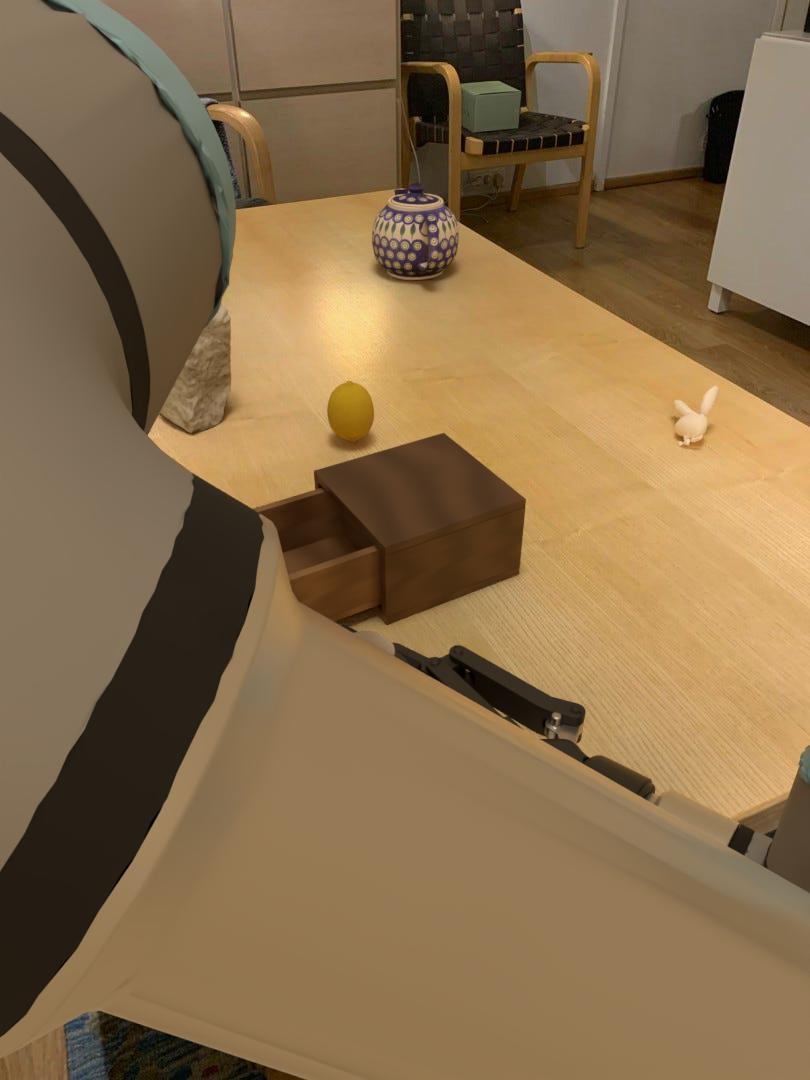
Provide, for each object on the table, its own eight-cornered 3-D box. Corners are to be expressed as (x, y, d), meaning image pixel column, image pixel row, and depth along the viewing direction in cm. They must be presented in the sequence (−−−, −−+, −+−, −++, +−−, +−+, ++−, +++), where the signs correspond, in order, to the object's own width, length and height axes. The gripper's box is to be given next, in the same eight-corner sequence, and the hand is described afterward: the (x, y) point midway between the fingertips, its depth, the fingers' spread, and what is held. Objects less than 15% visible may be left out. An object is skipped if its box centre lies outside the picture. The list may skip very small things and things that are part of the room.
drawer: (255, 661, 74) (246, 599, 70) (203, 578, 83) (192, 518, 79) (406, 604, 80) (405, 544, 76) (342, 532, 89) (338, 475, 85)
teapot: (473, 293, 146) (477, 201, 137) (385, 299, 143) (383, 206, 135) (441, 246, 165) (442, 163, 157) (362, 251, 163) (360, 167, 154)
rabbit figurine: (658, 444, 105) (667, 391, 109) (675, 461, 108) (683, 409, 111) (704, 433, 101) (712, 378, 105) (720, 451, 103) (728, 397, 107)
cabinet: (386, 625, 79) (384, 547, 74) (319, 543, 89) (313, 470, 84) (519, 574, 85) (526, 498, 80) (442, 503, 95) (443, 432, 90)
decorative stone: (140, 413, 112) (118, 303, 103) (195, 387, 118) (178, 281, 109) (194, 437, 107) (175, 324, 98) (248, 409, 113) (235, 300, 104)
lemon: (320, 440, 106) (315, 380, 102) (355, 426, 109) (352, 367, 105) (348, 458, 103) (345, 397, 98) (384, 442, 106) (382, 382, 101)
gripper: (540, 1038, 43) (205, 810, 53) (686, 773, 56) (392, 632, 66) (554, 958, 38) (186, 727, 49) (710, 690, 51) (391, 553, 62)
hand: (305, 673), depth 58 cm, fingers open, 7 cm apart
